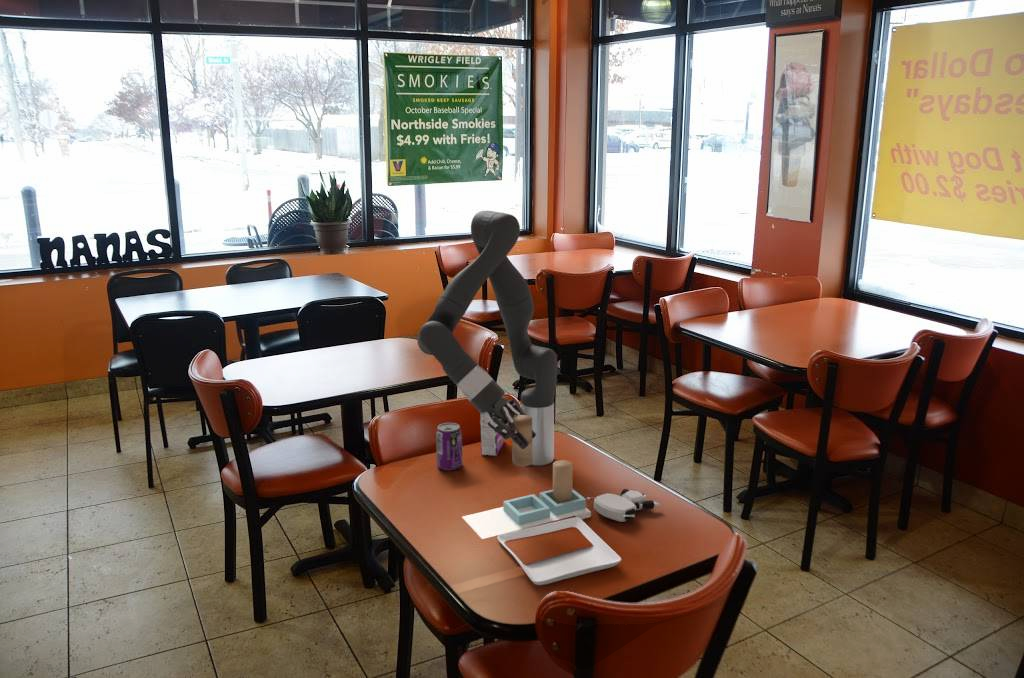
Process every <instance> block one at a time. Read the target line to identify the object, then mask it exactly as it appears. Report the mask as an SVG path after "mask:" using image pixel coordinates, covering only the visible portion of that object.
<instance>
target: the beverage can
mask: <svg viewBox="0 0 1024 678" xmlns="http://www.w3.org/2000/svg"><path fill="white" fill-rule="evenodd" d="M462 435H463V432H462V430H461V427H460V424H458V423H455V422H444V423H440V424H439V425H437V430H436V433H435V441H436V444H435V445H436V465H437V467H438V468H439V469H442V470H444V471H455V470H457V469H459V468H462V466H463V463H464V462H463V437H462Z"/></svg>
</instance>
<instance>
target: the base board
mask: <svg viewBox="0 0 1024 678" xmlns="http://www.w3.org/2000/svg"><path fill="white" fill-rule="evenodd" d="M573 469H574V468H573V463H572V462H571V461H570V460H566V459H565V460H564V459H560V460H556V461H555V460H554V462H553V463H552V489H549V490H544V491H541V492H539V494H538V495H539V497H538V496H537V495H536V494H534V493H532V494H528V495H524V496H519V497H516V498H512V499H508V500H504V501H503V502H502V504H503V505H502V506H501V507H496V508H492V509H489V510H484V511H479V512H477V513H471V514H467V515H463V516H461V518H462V519H463V520H464V521H465V522H466V523H467V525H468V526H470V528H471V530H473V531H474V532H475V533H476V534H477V536H478V537H479V538H480V539H481V540H484V539H485V540H486V539H489V538H492V537H498V536H499V535H502V534H506V533H510V532H514V531H519V530H523V529H527V528H531V527H536V526H540V525H544V524H548V523H552V522H557V521H561V520H565V519H569V518H572V517H574V516H575V517H579V518H580V519H581V520H584V519H588V518H591V516H592V512H591V510H590V509H588V508H587V498H585V497H584V496H583V495H581V494H580V493H579V492H577V491H576V490H575V489H574V488H573Z"/></svg>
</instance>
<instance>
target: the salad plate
mask: <svg viewBox="0 0 1024 678" xmlns="http://www.w3.org/2000/svg"><path fill="white" fill-rule="evenodd" d="M568 528H576V529H577V530H579V531H580V533H581V534H582V535H583V536H584V537H585V539H587V540H588V541H589V542H590V543H591V544H592V545H591V546H586V547H583V548H579V549H576V550H573V551H569V552H566V553H561V554H557V555H555V556H551V557H547V558H544V559H540V560H536V561H533V562H529V563H526V564H523V562H522V561H521V559H520V558H519V557H518V556H517V555H516V553H514V551H512V549H510V547H508V546H507V545H506V544H505V543H506V542H507V541H508V542H509V541H512V540H516V539H517V540H518V539H523V538H527V537H528V538H529V537H534V536H538V535H543V534H548V533H552V532H557V531H561V530H564V529H568ZM496 537H497V540H498V542H499V543H500V544H501V545H502V546H503V547H504V549H506V550H507V551H508V552H509V553H510V554H511V556H512V557H513V558H514V559H515V560H516V561H517V563H518V565H520V567H521V568H522V570H523V571H524V572H525V574H526V576H528V578H529V580H530V581H531V582H532V583H533V584H534V585H536V586H543V585H548V584H549V585H550V584H553V583H555V582H559V581H562V580H566V579H571V578H574V577H578V576H581V575H586V574H589V573H594V572H597V571H601V570H605V569H609V568H613V567H615V566H616V565H618V564H620V563H621V562H622V558H621V556H620V555H619V554H618V553H617V552H616V551H614V549H612V548H611V547H610V546H609V545H608V544H607V543H606V542H605V541H604V540H603V539H602V538H601V537H600V536H599V535H598V534H597V533H596V532H595V531H593V529H592V528H591V527H590V526H589V525H587V524H586V522H585V521H584V520H583V519H580V518H579V517H576V516H575V517H574V516H573V517H569V518H564V519H560V520H556V521H552V522H548V523H544V524H540V525H536V526H532V527H528V528H525V529H521V530H517V531H513V532H509V533H505V534H501V535H497V536H496Z"/></svg>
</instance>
